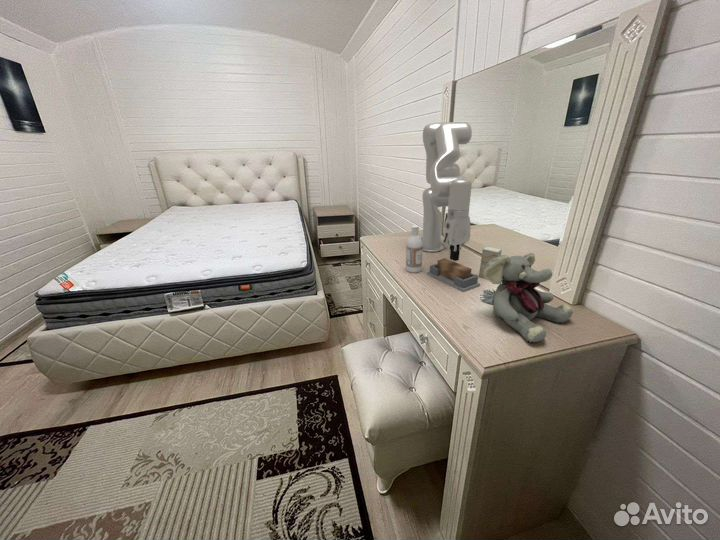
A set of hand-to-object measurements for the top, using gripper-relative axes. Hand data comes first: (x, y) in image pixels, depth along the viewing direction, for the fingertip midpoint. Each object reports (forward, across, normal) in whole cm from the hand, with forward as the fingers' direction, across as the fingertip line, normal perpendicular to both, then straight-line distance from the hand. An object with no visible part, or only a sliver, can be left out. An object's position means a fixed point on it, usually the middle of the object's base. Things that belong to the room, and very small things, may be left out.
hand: (454, 259), depth 116 cm
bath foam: (+9, -6, +17) cm, 20 cm away
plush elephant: (+10, -3, -30) cm, 32 cm away
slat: (+8, 0, 0) cm, 8 cm away
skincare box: (+9, +14, -6) cm, 18 cm away
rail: (+9, 0, 0) cm, 9 cm away
